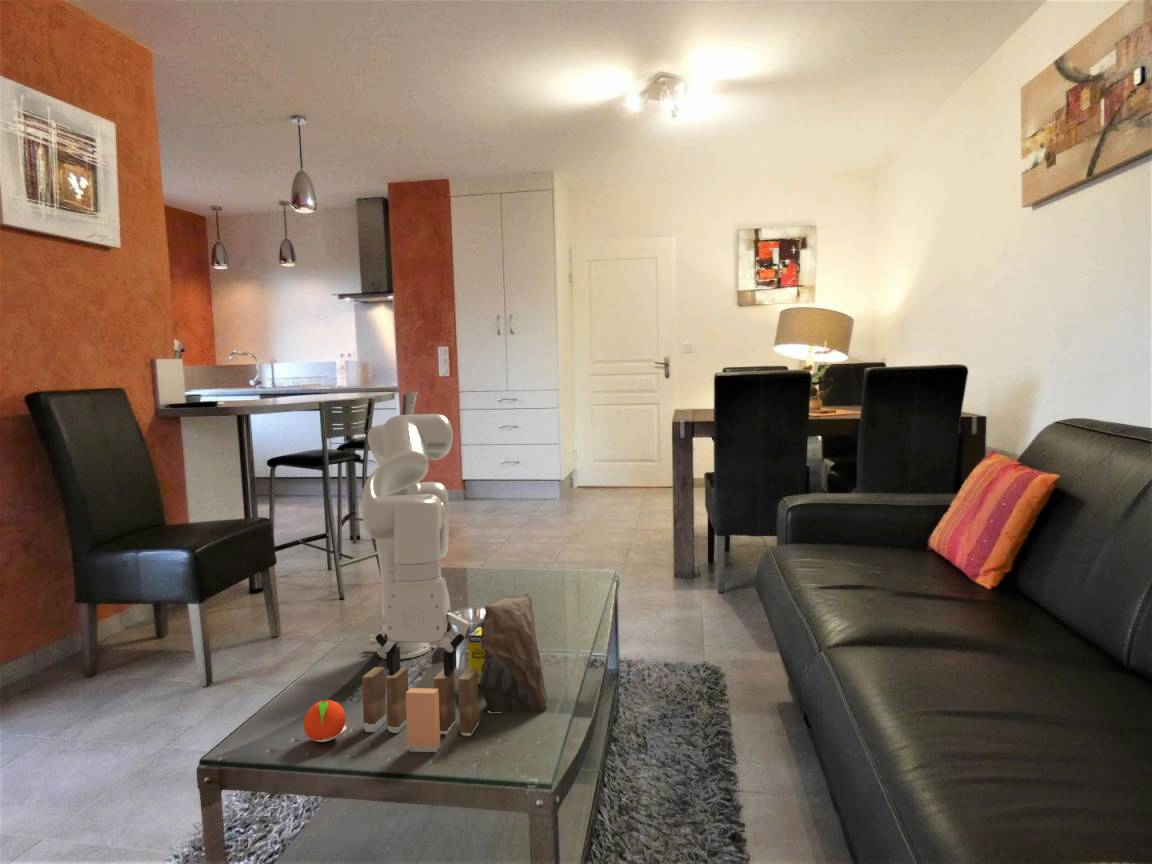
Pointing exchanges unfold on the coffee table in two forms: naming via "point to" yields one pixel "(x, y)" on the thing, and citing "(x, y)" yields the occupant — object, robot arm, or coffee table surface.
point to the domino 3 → (423, 717)
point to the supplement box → (476, 652)
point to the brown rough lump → (511, 657)
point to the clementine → (324, 720)
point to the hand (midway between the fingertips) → (421, 673)
